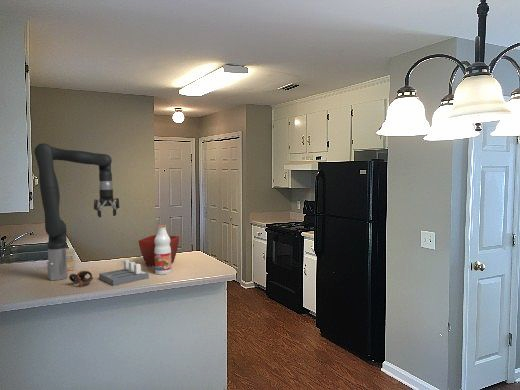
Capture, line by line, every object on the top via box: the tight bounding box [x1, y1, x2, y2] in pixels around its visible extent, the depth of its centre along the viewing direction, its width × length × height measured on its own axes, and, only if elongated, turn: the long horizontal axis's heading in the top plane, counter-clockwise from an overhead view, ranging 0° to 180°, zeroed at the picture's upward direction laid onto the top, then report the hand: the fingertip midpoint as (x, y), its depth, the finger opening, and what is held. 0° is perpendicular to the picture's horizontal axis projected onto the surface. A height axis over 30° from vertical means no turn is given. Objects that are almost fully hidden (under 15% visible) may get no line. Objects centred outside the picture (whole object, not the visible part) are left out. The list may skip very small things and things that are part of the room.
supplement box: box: [66, 247, 76, 272], centre depth 255 cm, size 8×5×13 cm, turn 105°
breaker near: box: [134, 263, 142, 274], centre depth 232 cm, size 2×3×5 cm
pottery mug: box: [68, 270, 94, 288], centre depth 223 cm, size 12×10×8 cm
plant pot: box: [138, 234, 180, 268], centre depth 266 cm, size 19×19×17 cm
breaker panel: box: [98, 268, 150, 287], centre depth 234 cm, size 20×19×3 cm
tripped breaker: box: [129, 261, 136, 272], centre depth 237 cm, size 2×3×5 cm
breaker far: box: [123, 259, 131, 270], centre depth 242 cm, size 2×3×5 cm
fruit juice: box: [154, 224, 173, 276], centre depth 245 cm, size 9×9×28 cm
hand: (107, 216), depth 246 cm, fingers open, 8 cm apart
